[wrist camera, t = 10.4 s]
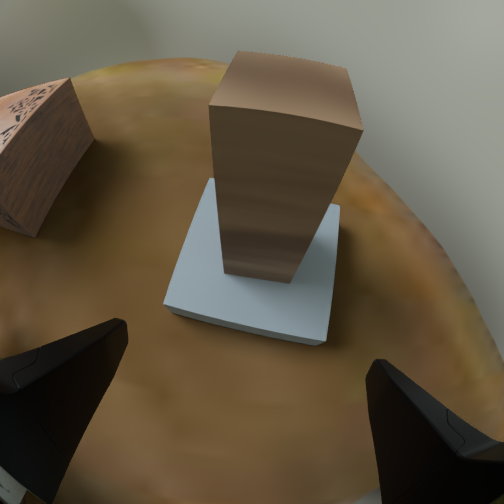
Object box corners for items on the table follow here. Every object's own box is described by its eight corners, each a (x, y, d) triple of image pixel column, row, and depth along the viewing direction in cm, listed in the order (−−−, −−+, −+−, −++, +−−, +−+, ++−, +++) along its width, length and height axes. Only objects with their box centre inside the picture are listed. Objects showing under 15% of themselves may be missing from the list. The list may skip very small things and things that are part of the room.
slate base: (315, 345, 19) (325, 341, 17) (171, 312, 20) (163, 303, 17) (331, 221, 24) (339, 205, 22) (211, 195, 25) (209, 177, 22)
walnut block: (289, 283, 19) (363, 130, 7) (224, 273, 19) (208, 104, 7) (294, 227, 21) (346, 68, 9) (235, 218, 21) (237, 50, 9)
